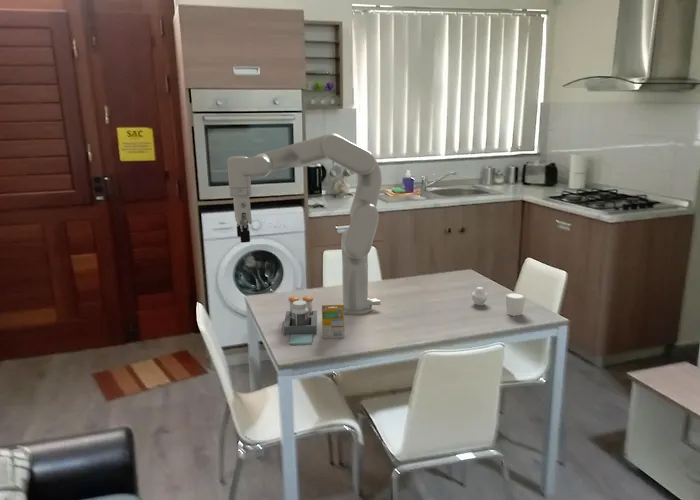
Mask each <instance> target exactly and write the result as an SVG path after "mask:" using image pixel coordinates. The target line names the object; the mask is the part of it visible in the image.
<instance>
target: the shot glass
mask: <svg viewBox="0 0 700 500" xmlns="http://www.w3.org/2000/svg"><path fill="white" fill-rule="evenodd" d="M525 301H526V295H524V294H523V293H521V292H520V293H519V292H509V293H506V294H505V304H506V306H505V307H506V314H507V313H509V314H512V315H520V314H522V313H523V312H524V307H525ZM522 315H523V314H522Z"/></svg>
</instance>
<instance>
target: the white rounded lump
mask: <svg viewBox="0 0 700 500" xmlns="http://www.w3.org/2000/svg"><path fill="white" fill-rule="evenodd" d="M471 298H472V300H473V303H474V304H475V305H476V304H479V305H478V306H483V305H482V304H485V303H486V301H487V300H488V298H489V295H488V293H487V292H486V290H485V288H484V287H482V286H478V287H475V289H474V291H473V292H472V293H471Z"/></svg>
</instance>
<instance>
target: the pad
mask: <svg viewBox="0 0 700 500" xmlns="http://www.w3.org/2000/svg"><path fill="white" fill-rule="evenodd" d="M312 344H313V334H296V335H290V342H289V345H290V346H294V345H295V346H296V345H297V346H298V345H301V346H302V345H312Z"/></svg>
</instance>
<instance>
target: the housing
mask: <svg viewBox="0 0 700 500" xmlns="http://www.w3.org/2000/svg"><path fill="white" fill-rule="evenodd" d="M296 334H312V335H317V334H318V310H312V315H309V325H305V326H292V315H290V310H289V311H288V310H287V311H285V318H284V323H283V336H291V335H296Z"/></svg>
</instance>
